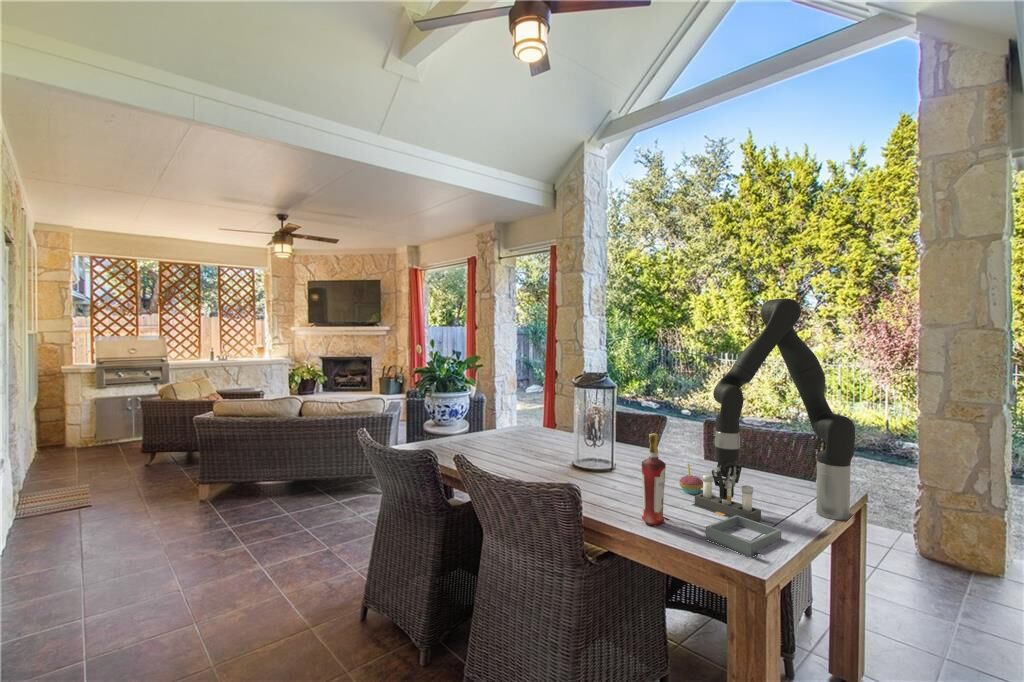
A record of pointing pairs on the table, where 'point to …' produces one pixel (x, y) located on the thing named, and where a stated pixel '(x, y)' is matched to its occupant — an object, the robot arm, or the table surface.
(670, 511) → the table surface
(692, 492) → the cupcake
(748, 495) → the cylinder
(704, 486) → the cylinder
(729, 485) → the cylinder
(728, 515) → the fuse block
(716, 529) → the tray
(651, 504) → the liquor
